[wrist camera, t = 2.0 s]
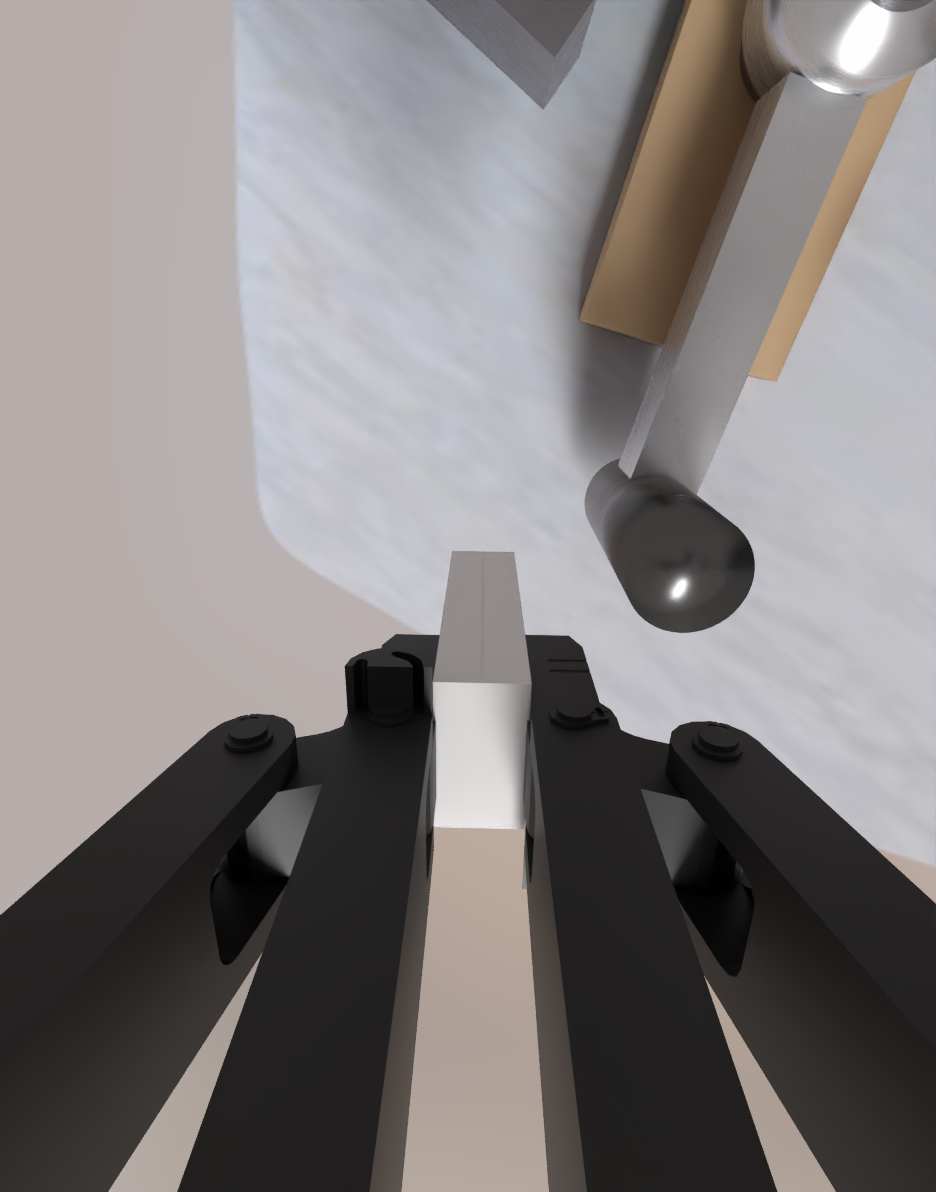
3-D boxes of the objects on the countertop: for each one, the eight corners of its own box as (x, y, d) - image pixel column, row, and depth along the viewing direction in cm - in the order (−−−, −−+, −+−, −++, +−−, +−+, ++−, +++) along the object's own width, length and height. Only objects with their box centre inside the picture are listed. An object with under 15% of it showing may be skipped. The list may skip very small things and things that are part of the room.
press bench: (1001, -177, 22) (1048, -226, 20) (757, 378, 28) (776, 381, 26) (774, -269, 21) (801, -327, 19) (578, 320, 28) (584, 318, 26)
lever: (900, -446, 18) (1266, -1144, 9) (1075, -371, 18) (1574, -977, 10) (554, 523, 28) (580, 605, 19) (671, 559, 28) (746, 654, 20)
